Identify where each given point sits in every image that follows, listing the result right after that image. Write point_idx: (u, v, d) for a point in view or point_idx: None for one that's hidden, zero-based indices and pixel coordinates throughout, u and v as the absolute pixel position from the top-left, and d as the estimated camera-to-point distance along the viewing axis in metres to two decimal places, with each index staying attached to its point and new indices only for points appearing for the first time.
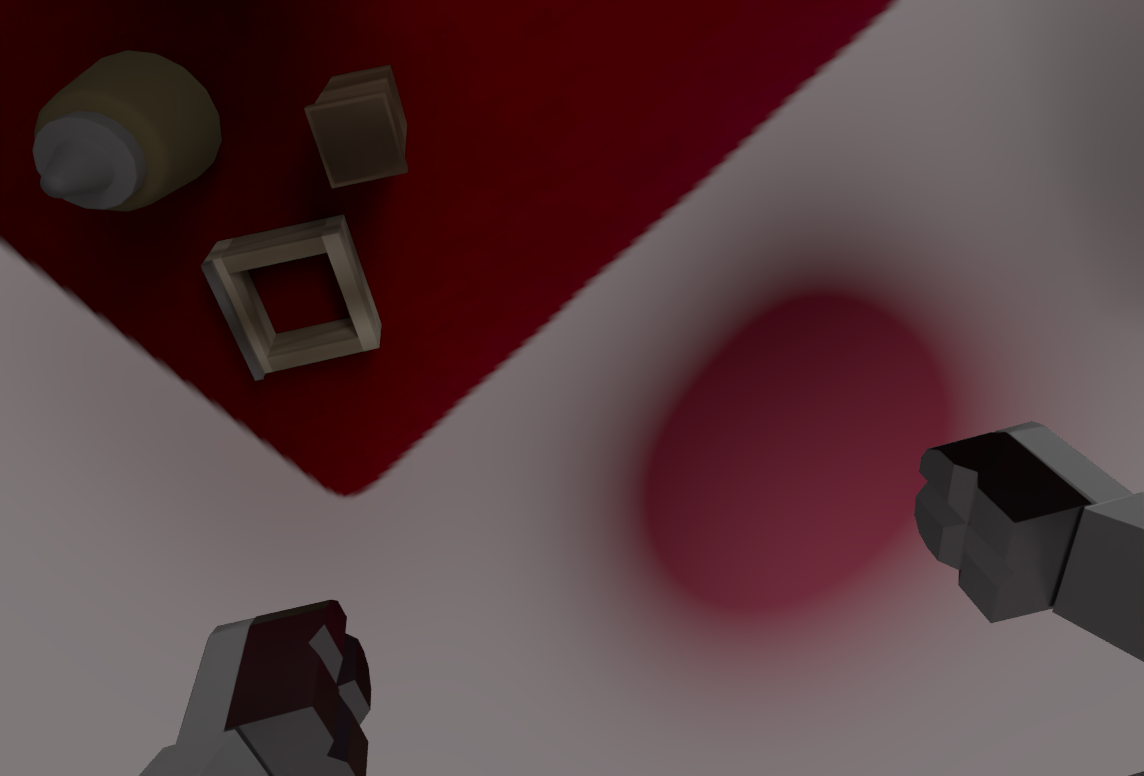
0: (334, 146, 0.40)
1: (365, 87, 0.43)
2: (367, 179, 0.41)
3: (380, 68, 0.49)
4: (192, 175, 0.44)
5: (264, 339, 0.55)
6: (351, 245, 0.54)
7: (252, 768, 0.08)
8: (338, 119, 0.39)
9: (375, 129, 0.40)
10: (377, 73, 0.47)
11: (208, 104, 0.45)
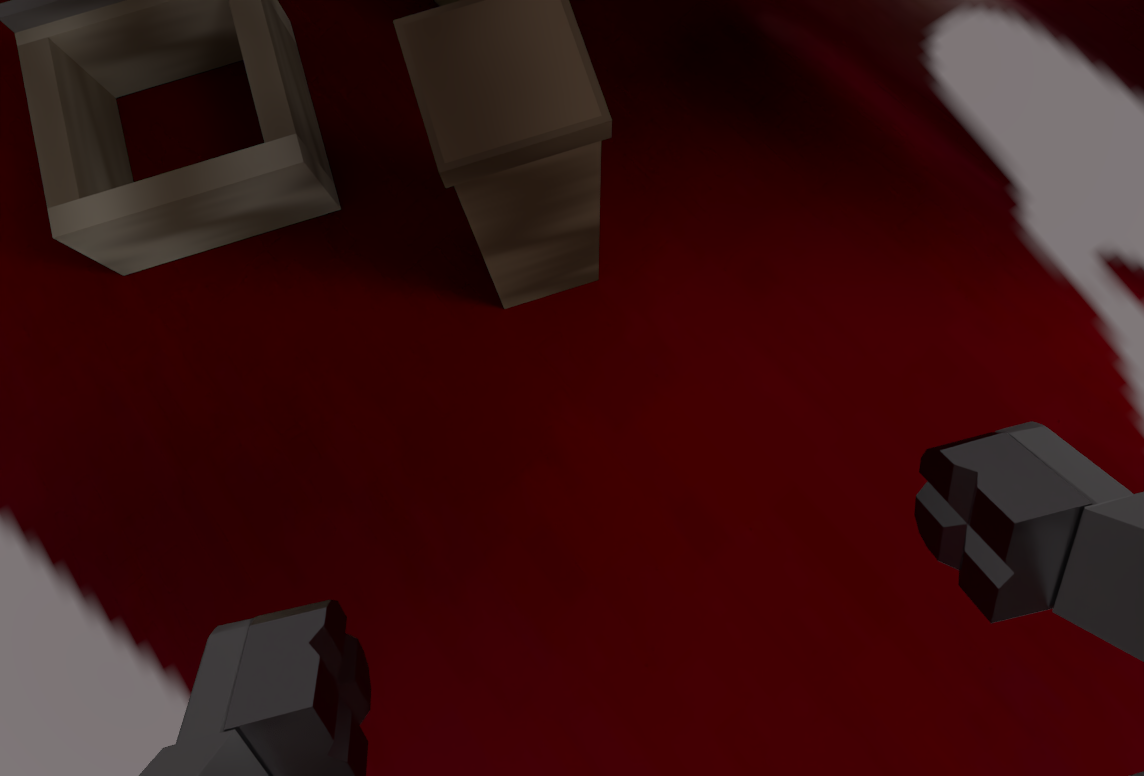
0: (485, 26, 0.18)
1: None
2: (417, 90, 0.18)
3: None
4: None
5: (93, 49, 0.29)
6: (283, 213, 0.29)
7: (252, 768, 0.08)
8: (544, 32, 0.18)
9: (530, 103, 0.18)
10: None
11: None
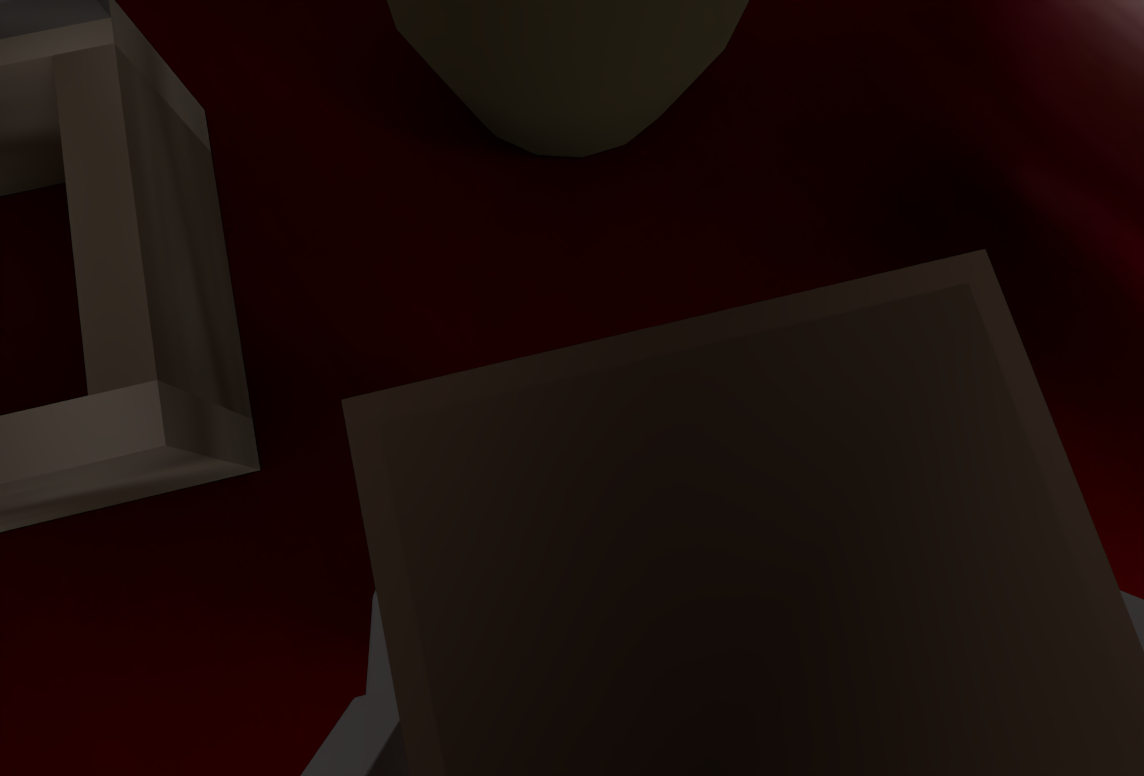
0: (711, 457, 0.05)
1: None
2: (416, 738, 0.04)
3: None
4: None
5: None
6: (142, 488, 0.15)
7: None
8: (946, 506, 0.05)
9: None
10: None
11: (636, 77, 0.14)
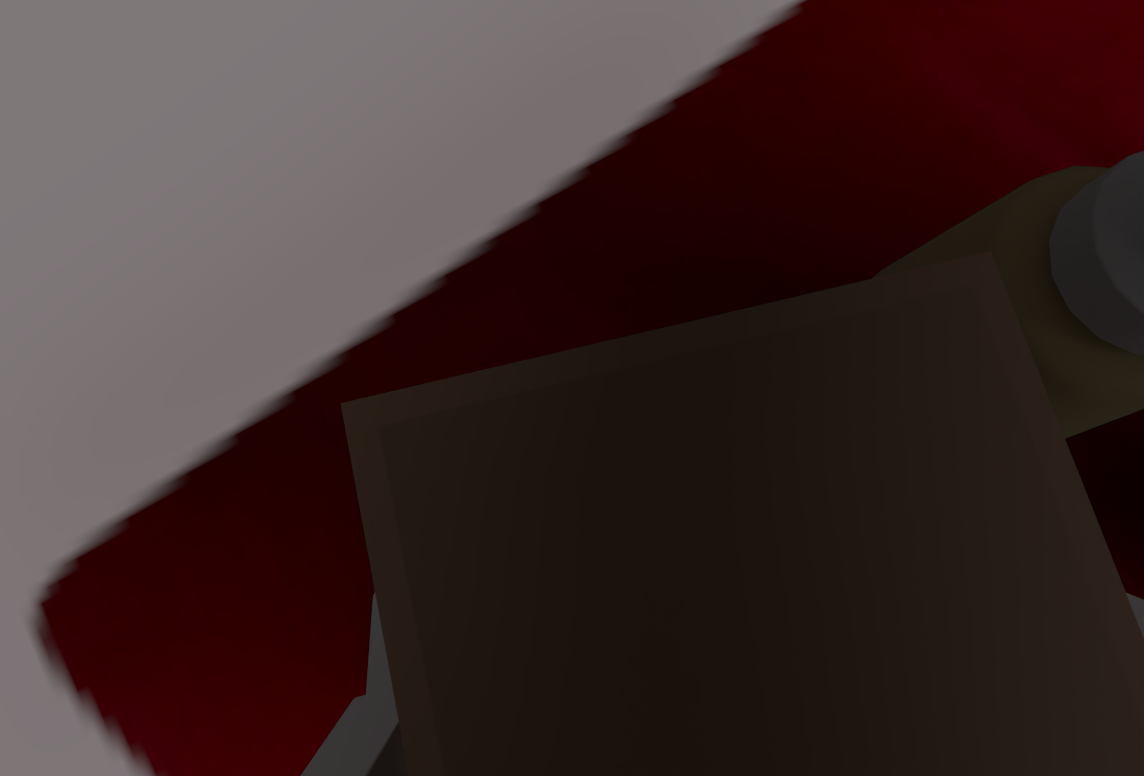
0: (714, 461, 0.05)
1: None
2: (416, 746, 0.04)
3: None
4: None
5: None
6: None
7: None
8: (951, 510, 0.04)
9: None
10: None
11: None
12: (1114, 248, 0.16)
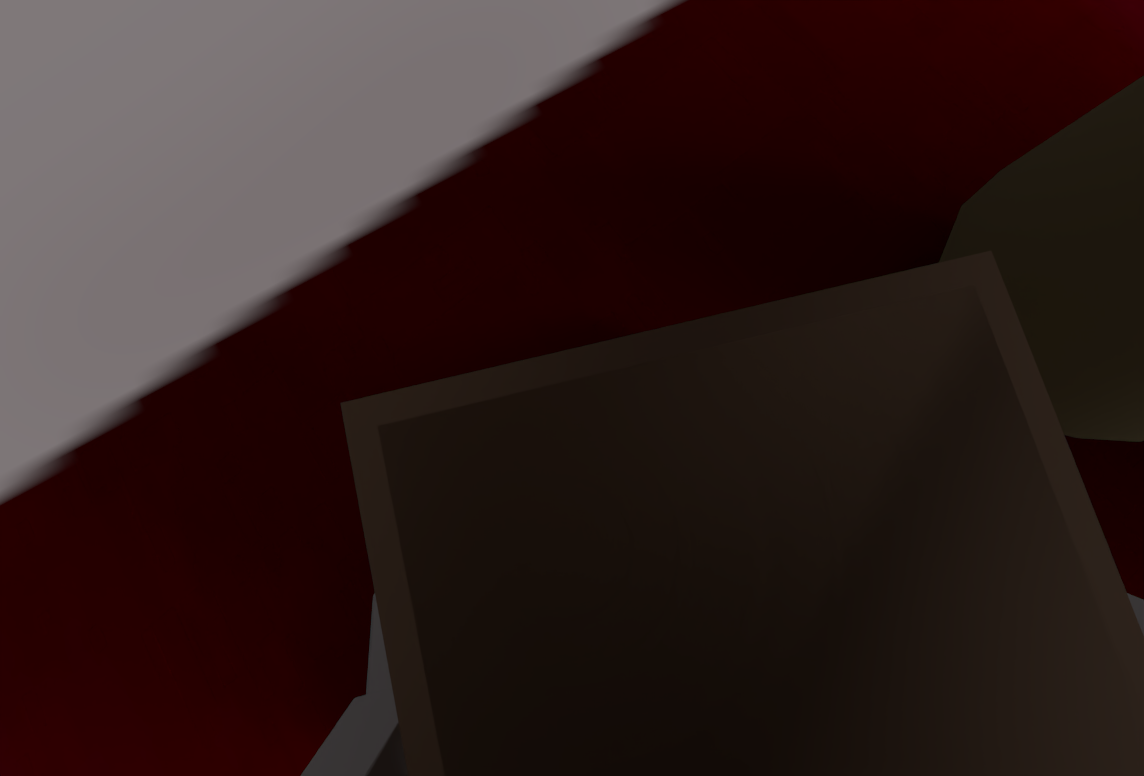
0: (714, 461, 0.05)
1: None
2: (416, 746, 0.04)
3: None
4: (1115, 360, 0.15)
5: None
6: None
7: None
8: (951, 512, 0.04)
9: None
10: None
11: None
12: None
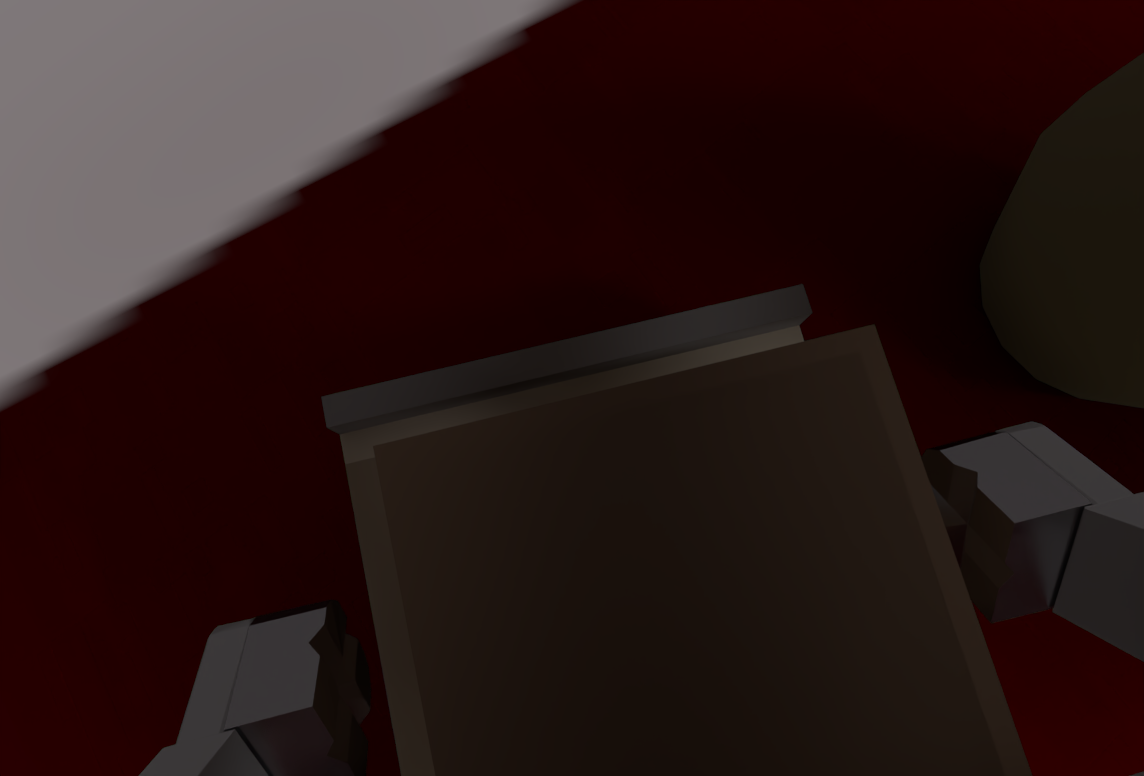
0: (655, 490, 0.06)
1: None
2: (431, 702, 0.06)
3: None
4: None
5: None
6: None
7: (252, 768, 0.08)
8: (835, 528, 0.06)
9: None
10: None
11: None
12: None
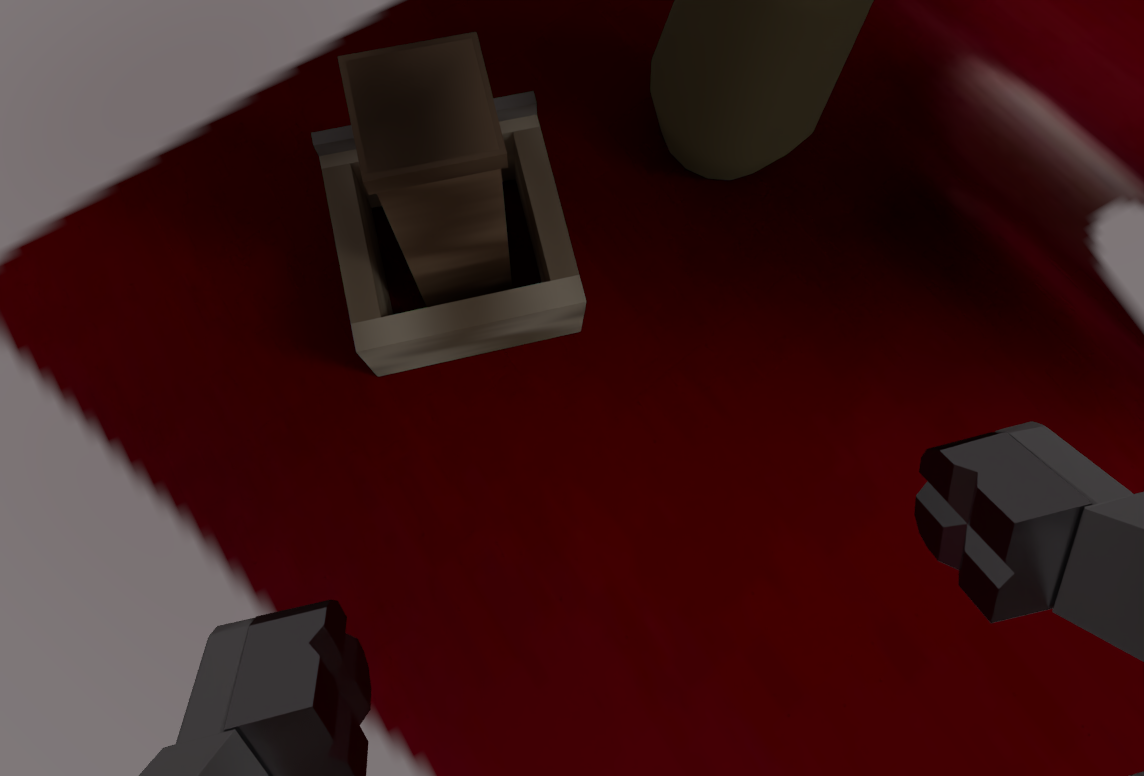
0: (413, 69, 0.23)
1: None
2: (351, 114, 0.22)
3: None
4: (705, 87, 0.29)
5: None
6: (536, 334, 0.32)
7: (252, 768, 0.08)
8: (459, 78, 0.23)
9: (442, 134, 0.22)
10: None
11: (777, 147, 0.31)
12: None
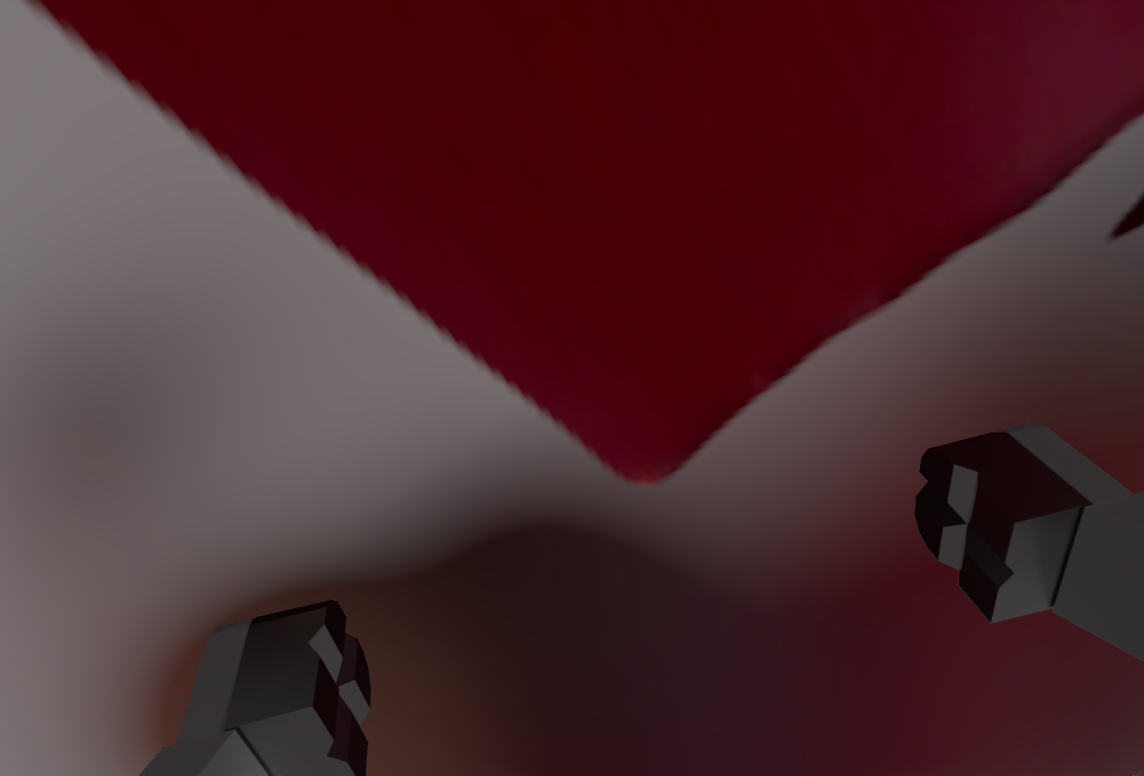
0: None
1: None
2: None
3: None
4: None
5: None
6: None
7: (252, 768, 0.08)
8: None
9: None
10: None
11: None
12: None
